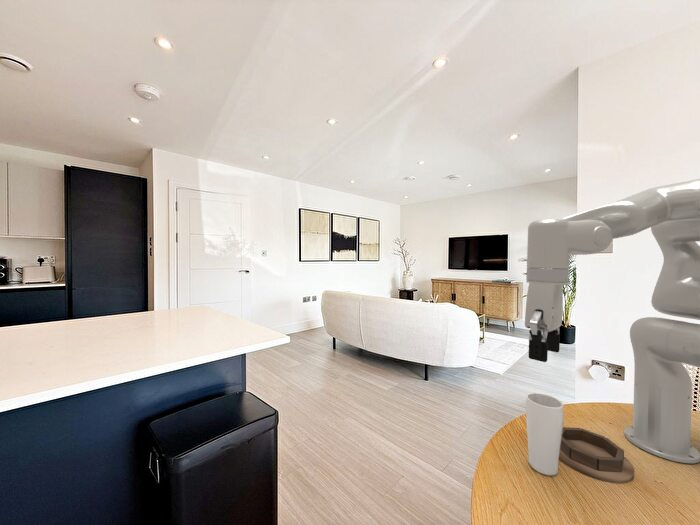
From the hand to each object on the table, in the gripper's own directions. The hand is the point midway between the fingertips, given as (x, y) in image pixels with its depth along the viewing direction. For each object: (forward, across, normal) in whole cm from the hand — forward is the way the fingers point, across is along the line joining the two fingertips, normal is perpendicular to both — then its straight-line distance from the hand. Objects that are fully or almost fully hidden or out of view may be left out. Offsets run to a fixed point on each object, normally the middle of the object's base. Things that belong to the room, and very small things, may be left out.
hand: (544, 355), depth 61 cm
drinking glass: (+25, 0, 0) cm, 25 cm away
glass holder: (+25, -12, +6) cm, 28 cm away
